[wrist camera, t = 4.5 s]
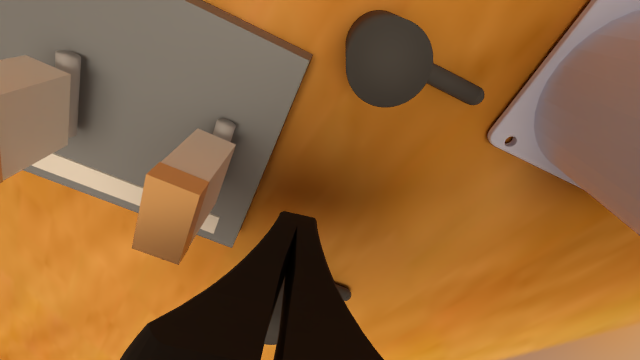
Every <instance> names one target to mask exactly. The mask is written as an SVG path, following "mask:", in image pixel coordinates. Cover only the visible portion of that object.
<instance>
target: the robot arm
mask: <svg viewBox="0 0 640 360" xmlns="http://www.w3.org/2000/svg"><path fill="white" fill-rule="evenodd" d="M511 136H513V139H512V141H511V142H509V143H506V144H505V140H506V139H507V138H508V137H511ZM487 138H488V140H489V142H490V143H491V144H492V145H494V146H495V147H497V148H499V149H502V150H504V151H506V152H508V153H510V154H512V155H514V156H516V157H518V158H520V159H522V160H524V161H526V162H528V163H530V164H532V165H534V166H536V167H538V168H540V169H542V170H545V171H547V172H549V173H551V174H553V175H555V176H557V177H559V178H561V179H563V180H565V181H567V182H569V183H571V184H573V185H575V186H577V187H579V188H581V189H583V190H585V191H586V192H587V193H589V194H590V195H591V196H592V197H593V198H595V199H596V200H597V201H598V202H600V203H601V204H602V205H603V206H604V207H606V208H607V209H608V210H609V211H610V212H612V213H613V214H614V215H615V216H617V217H618V218H619V219H620V220H621V221H623V222H624V223H625V224H626V225H628V226H629V227H630V228H631V229H632V230H634V231H635V232H636V233H637V234H638V235H640V0H591V1H590V3H589V4H588V5H587V7H586V8H585V9H584V10H583V12H582V13H581V14H580V16H579V17H578V18H577V19H576V21H575V22H574V23H573V24H572V26H571V27H570V28H569V30H568V31H567V32H566V33H565V35H564V36H563V37H562V38H561V40H560V41H559V42H558V44H557V45H556V46H555V47H554V49H553V50H552V51H551V53H550V54H549V55H548V56H547V58H546V59H545V60H544V61H543V63H542V64H541V65H540V67H539V68H538V69H537V70H536V72H535V73H534V74H533V75H532V77H531V78H530V79H529V81H528V82H527V83H526V84H525V86H524V87H523V88H522V90H521V91H520V92H519V93H518V95H517V96H516V97H515V98H514V100H513V101H512V102H511V104H510V105H509V106H508V107H507V109H506V110H505V111H504V112H503V114H502V115H501V116H500V118H499V119H498V120H497V121H496V123H495V124H494V125H493V126H492V128H491V129H490V130H489V132H488V136H487ZM284 278H285V281H284ZM283 281H284V290H283V299H282V308H281V317H280V326H279V333H278V340H277V345H276V350H275V355H274V360H384V359H383V358H382V357H381V356H380V354H379V353H378V352H377V351H376V350H375V348H374V347H373V346H372V344H371V343H370V341H369V340H368V339H367V337H366V336H365V334H364V333H363V332H362V330H361V328H360V327H359V325H358V324H357V322H356V321H355V319H354V317H353V316H352V314H351V313H350V311H349V309H348V308H347V306H346V304H345V302H344V300H343V298H342V297H341V295H340V293H339V291H338V289H337V286H336V284H335V282H334V280H333V277H332V275H331V272H330V270H329V267H328V265H327V262H326V259H325V256H324V253H323V250H322V246H321V243H320V239H319V234H318V229H317V221H316V219H315V218H313V217H308V216H304V215H299V214H294V213H290V212H285V211H283V212H281V213H280V215H279V217H278V219H277V220H276V222H275V223H274V225H273V226H272V228H271V229H270V230H269V232H268V233H267V234H266V235H265V236H264V238H263V239H262V240H261V241H260V242H259V244H258V245H257V246H256V247H255V248H254V249H253V250H252V251H251V252H250V253H249V254H248V255H247V256H246V257H245V258H244V259H243V260H242V261H241V262H240V263H239V264H238V265H236V266H235V267H234V268H233V269H232V270H231V271H229V272H228V273H227V274H226V275H225V276H223V277H222V278H221V279H219V280H218V281H217V282H216V283H214V284H213V285H211V286H210V287H209V288H207V289H206V290H204V291H203V292H201V293H200V294H198V295H197V296H195V297H194V298H192V299H190V300H189V301H187V302H186V303H184V304H183V305H181V306H179V307H177V308H176V309H174V310H172V311H170V312H168V313H166V314H165V315H163V316H161V317H159V318H157V319H155V320H153V321H152V322H150V323H148V324H147V325H146V326H145V327H144V328H143V330H142V331H141V332H140V333H139V334H138V335H137V337H136V338H135V339H134V341H133V342H132V343H131V344H130V346H129V347H128V348H127V350H126V351H125V352H124V354H123V355H122V357H121V359H120V360H261V355H262V351H263V347H264V342H265V338H266V335H267V331H268V327H269V324H270V321H271V318H272V315H273V312H274V309H275V306H276V303H277V299H278V296H279V293H280V290H281V287H282V284H283Z"/></svg>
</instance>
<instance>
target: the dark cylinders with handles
mask: <svg viewBox="0 0 640 360" xmlns="http://www.w3.org/2000/svg"><path fill="white" fill-rule="evenodd" d="M346 74H347V78H348V81H349V84H350V86H351V88H352V90H353V91H354V92H355V94H356V95H357V96H358V97H359V98H360V99H362V100H363V101H365V102H366V103H368V104H371V105H373V106H377V107H394V106H397V105H401V104H403V103H405V102H407V101H409V100H410V99H412V98H413V97H415V96H416V95H417V94H418V93H419V92H420V91H421V90H422V88H423V87H424V86H425V84H426V83H428V84H430V85H432V86H434V87H436V88H438V89H440V90H442V91H444V92H446V93H448V94H450V95H452V96H454V97H456V98H458V99H460V100H461V101H463V102H465V103H467V104H470V105H477V104H479V103H480V102H482V100H483V99H484V91H483V89H482V88H480V87H478V86H476V85H475V84H473V83H471V82H469V81H467V80H465V79H463V78H461V77H459V76H457V75H455V74H453V73H451V72H449V71H447V70H446V69H444V68H442V67H440V66H438V65H436V64H434V63H433V51H432V47H431V43H430V41H429V39H428V37H427V35H426V34H425V32H424V31H423V30H422V29H421V28H420V27H419V26H418V25H416V24H415V23H413V22H411V21H409V20H406V19H404V18H402V17H399V16H397V15H395V14H392V13H390V12H387V11H383V10H375V11H371V12H368V13H366V14H364V15H362V16H361V17H359V18H358V19H357V20H356V21H355V22H354V23H353V25H352V26H351V28H350V30H349V32H348V35H347V38H346ZM284 281H285V278H284ZM284 281H283V284H282V287H281V290H280V293H279V296H278V299H277V303H276V306H275V309H274V312H273V315H272V318H271V321H270V324H269V327H268V331H267V335H266V338H265V342H264V344H267V345H275V344H277V340H278V333H279V326H280V317H281V308H282V299H283V290H284ZM336 286H337V289H338V291H339V293H340V295H341V297H342V298H343V300H344V301H347V300H349V299H350V297H351V292H350V290H349V289H347V288H345V287H342V286H340V285H337V284H336Z"/></svg>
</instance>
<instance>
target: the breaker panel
mask: <svg viewBox="0 0 640 360" xmlns="http://www.w3.org/2000/svg"><path fill="white" fill-rule="evenodd" d="M58 50H65V51H70V52H74V53H76V54H78V55H80V56H81V70H80V88H79V106H78V124H77V135H76V136H74V137H68V145H67V146H65V147H63V148H61V149H60V150H58V151H56V152H54V153H52V154H51V155H49V156H47V157H45V158H43V159H41V160H40V161H38V162H36V163H34V164H32V165H30V166H29V167H27V168H25V169H23V170H24V171H27V172H30V173H32V174H35V175H38V176H40V177H43V178H46V179H48V180H51V181H54V182H56V183H59V184H62V185H65V186H67V187H70V188H73V189H75V190H78V191H81V192H83V193H86V194H89V195H91V196H94V197H97V198H99V199H102V200H105V201H108V202H110V203H113V204H116V205H118V206H121V207H124V208H126V209H129V210H132V211H134V212H137V213H139V208H140V203H141V198H142V193H143V187H144V182H145V177H146V174H147V173H148V172H149V171H150V170H151V169H152V168H153V167H155V166H156V165H157V164H158V163H159V162H161V161H162V160H164V159H165V158H166V157H167V156H168V155H169V154H170V153H171V152H172V151H173V150H174V149H176V148H177V147H178V146H179V145H180V144H181V143H182V142H183V141H184V140H185V139H186V138H188V137H189V136H190V135H191V134H192V133H193V132H194V131H195V130H196V129H197V128H198V129H201V130H203V131H205V132H208V133H210V134H212V135H213V131H214V128H215V125H216V121H217V119H220V118H222V119H227V120H230V121H232V122H233V123H234V124H235V125H236V127H235V130H234V133H233V136H232V139H231V143H233V144H236V146H235V149H234V152H233V155H232V157H231V160H230V163H229V166H228V169H227V172H226V175H225V178H224V181H223V184H222V186H221V189H220V192H219V195H218V198H217V201H216V204H215V205H214V207H213V208H212V210H211V212H210V213H209V215H208V217H207V218H206V220H205V221H204V223H203V225H202V226H201V228H200V230H199V231H198V233H197V234H196V235H199V236H202V237H204V238H207V239H210V240H212V241H215V242H218V243H220V244H223V245H226V246H228V247H231V248H232V247H233V244H234V242H235V240H236V238H237V235H238V233H239V231H240V228H241V226H242V224H243V221H244V219H245V216H246V214H247V212H248V209H249V207H250V204H251V202H252V199H253V197H254V195H255V192H256V190H257V187H258V185H259V183H260V180H261V178H262V175H263V173H264V171H265V168H266V166H267V163H268V161H269V159H270V156H271V154H272V151H273V149H274V147H275V144H276V142H277V139H278V137H279V135H280V132H281V130H282V127H283V125H284V123H285V120H286V118H287V115H288V113H289V111H290V108H291V106H292V103H293V101H294V99H295V96H296V94H297V91H298V89H299V87H300V84H301V82H302V79H303V77H304V74H305V72H306V70H307V67H308V65H309V62H310V60H311V58H312V55H313V54H310V53H308V52H306V51H304V50H302V49H300V48H298V47H296V46H294V45H292V44H290V43H288V42H286V41H284V40H282V39H280V38H278V37H276V36H274V35H272V34H270V33H268V32H266V31H264V30H261V29H259V28H257V27H255V26H253V25H251V24H249V23H247V22H245V21H243V20H241V19H239V18H237V17H235V16H233V15H231V14H229V13H227V12H225V11H223V10H221V9H219V8H217V7H215V6H212V5H210V4H208V3H206V2H204V1H202V0H0V60H3V59H8V58H13V57H18V56H23V55H27V56H29V57H31V58H34V59H36V60H38V61H41V62H43V63H45V64H48V65H50V66H52V67H55V52H56V51H58Z"/></svg>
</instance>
